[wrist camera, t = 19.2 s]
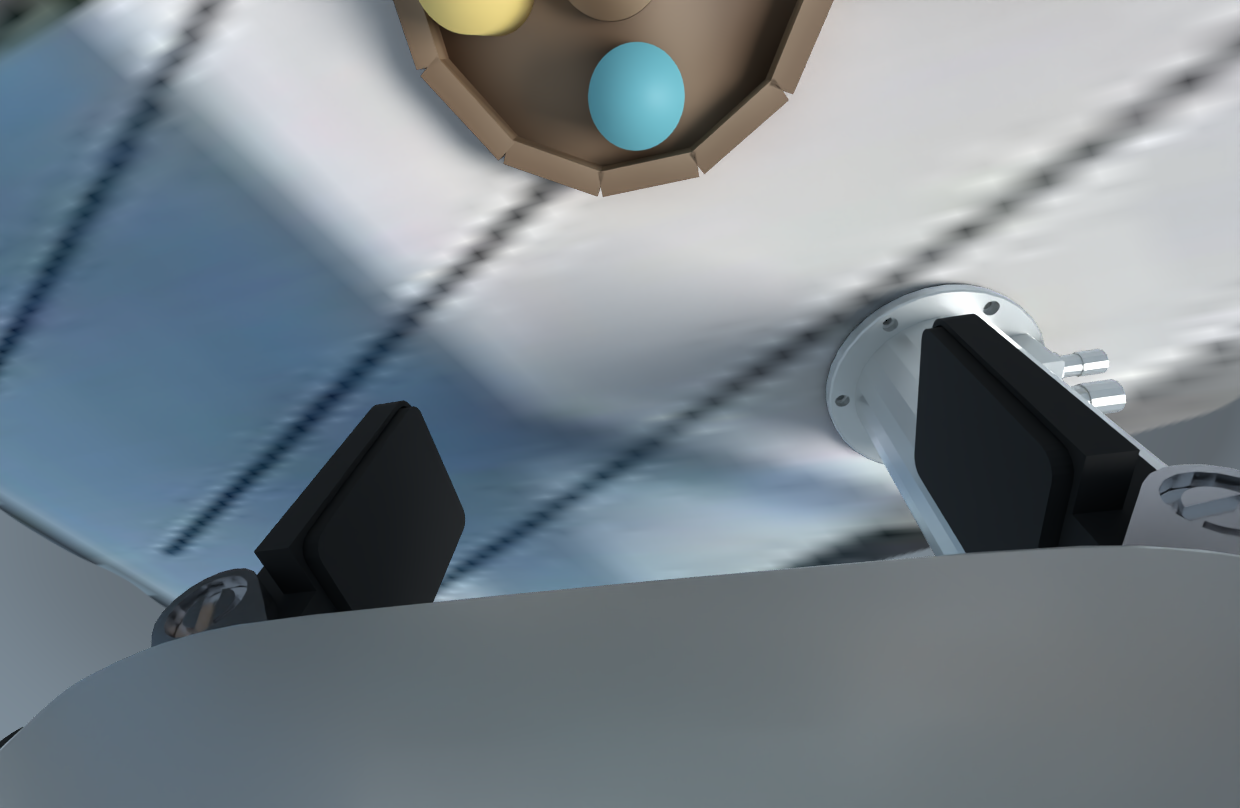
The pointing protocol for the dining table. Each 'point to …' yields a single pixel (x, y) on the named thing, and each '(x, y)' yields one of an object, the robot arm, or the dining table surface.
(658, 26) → the groove tray
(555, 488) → the dining table surface
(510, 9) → the ochre bead
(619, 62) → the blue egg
